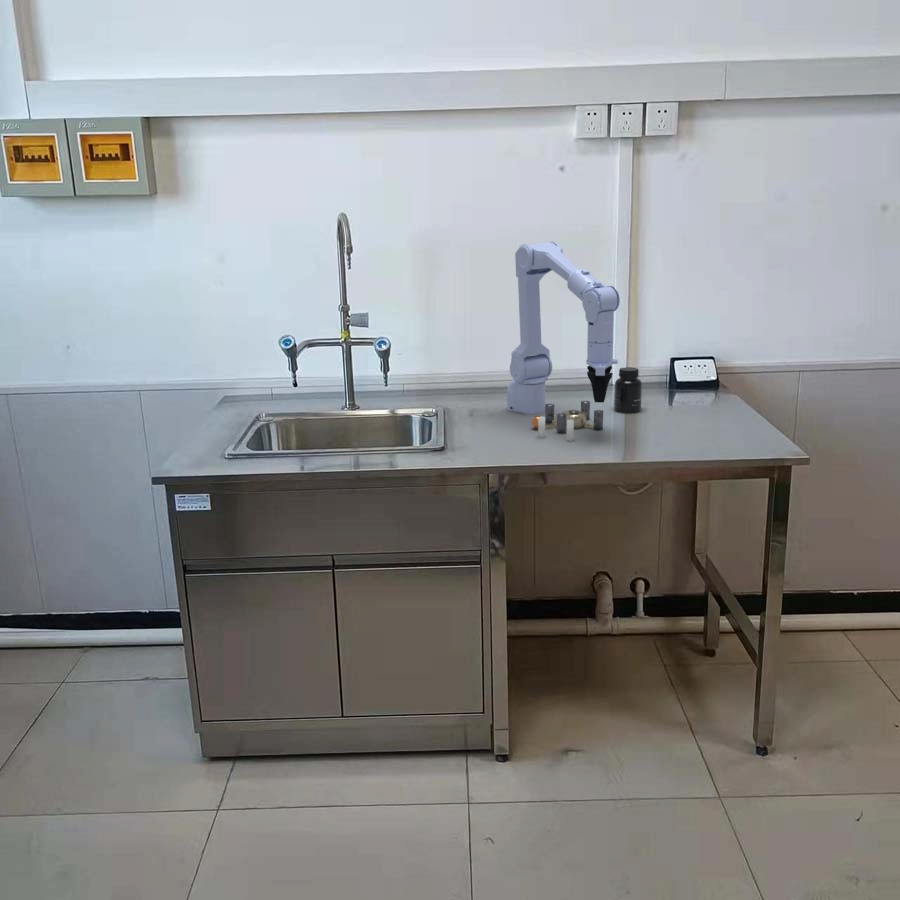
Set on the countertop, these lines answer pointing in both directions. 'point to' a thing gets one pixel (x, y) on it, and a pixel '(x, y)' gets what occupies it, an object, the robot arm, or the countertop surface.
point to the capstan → (574, 415)
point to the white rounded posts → (569, 428)
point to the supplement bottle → (628, 391)
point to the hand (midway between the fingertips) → (599, 399)
